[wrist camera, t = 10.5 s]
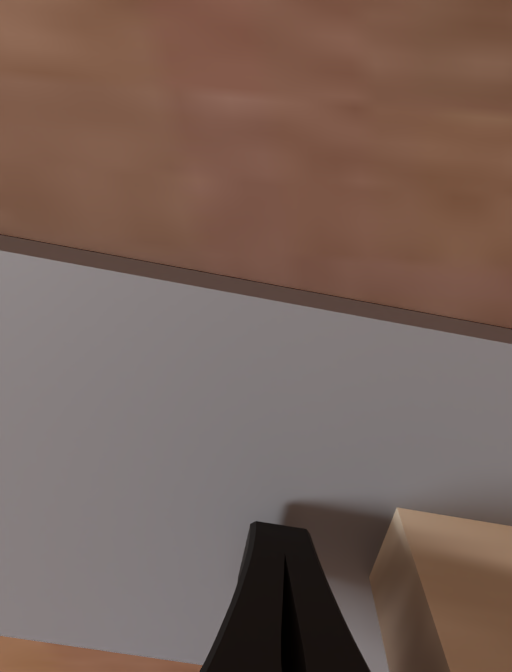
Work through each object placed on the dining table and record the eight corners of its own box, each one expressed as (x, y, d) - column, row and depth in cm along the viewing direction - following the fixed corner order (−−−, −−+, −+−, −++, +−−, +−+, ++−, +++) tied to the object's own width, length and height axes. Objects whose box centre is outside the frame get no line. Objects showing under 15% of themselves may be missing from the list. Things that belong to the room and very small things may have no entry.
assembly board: (886, 734, 17) (922, 769, 16) (-141, 581, 15) (-167, 611, 14) (1236, 463, 12) (1316, 491, 11) (-230, 192, 10) (-280, 199, 9)
